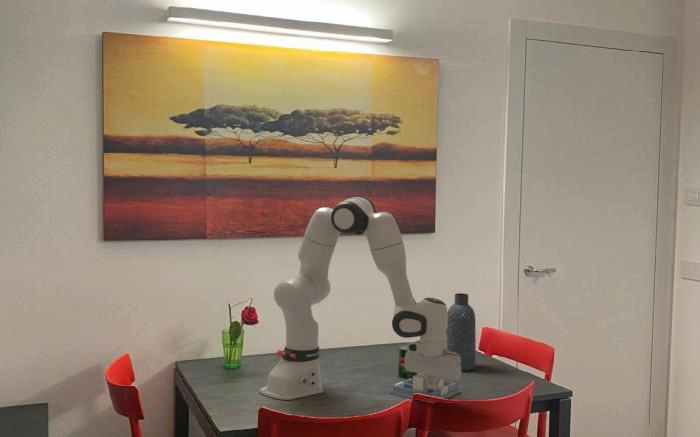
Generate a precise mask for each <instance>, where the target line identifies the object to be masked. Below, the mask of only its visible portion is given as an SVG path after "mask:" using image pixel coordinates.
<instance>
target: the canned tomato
mask: <svg viewBox="0 0 700 437" xmlns="http://www.w3.org/2000/svg"><path fill="white" fill-rule="evenodd" d="M407 351H408V350H407V344H401V345H399V346H398V364H397V365H398V366H397V378H398V379H401V380H404V381H405V380H408V379H410V378H412V379H413V376H415V375H417V373H415V372H411V371H407V370H406V368H405V355H406V352H407Z"/></svg>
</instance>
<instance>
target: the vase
mask: <svg viewBox="0 0 700 437" xmlns="http://www.w3.org/2000/svg"><path fill="white" fill-rule="evenodd" d="M447 314H448V326H447V330H446V336H447V350H448V351H451V352H456V353H457V354H458V355H459V356H460V357H461V372H469V371H473V370H474V369H475V368H476V365H477V364H476V361H477V359H476V349H477V348H476V346H477V345H476V343H477V340H476V314H475V311H474V308H473V307H472V306H471V305H470V304H469V294H468V293H460V292H459V293H455V294H454V303H453V304H452V305H451V306H450V307H449V308H448V309H447ZM458 355H457V356H458Z"/></svg>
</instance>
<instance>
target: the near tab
mask: <svg viewBox="0 0 700 437" xmlns="http://www.w3.org/2000/svg"><path fill="white" fill-rule="evenodd" d="M413 390H415V391H419V392H423V393H427V394H428V390H429V389H428V388H427V383H426V380H425V378H424V375H421V374H418V375H415V376H413Z"/></svg>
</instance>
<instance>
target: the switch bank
mask: <svg viewBox="0 0 700 437" xmlns="http://www.w3.org/2000/svg"><path fill="white" fill-rule="evenodd" d="M458 385H459V384H458V383H456V382H451V381H448V380H447V381H446V380H444V387H443V388H440V389H439V390H432V389H429V390H428V394H427V393H423V392H419V391H415V390H413V379H412V378H410V379H408V380H405V379H404V380H403V381H399V382H398V383H397V382H396V383H394V385H393V386H392V389H390V394H391V395H394V396H399V397H403V398H406V399H410V398H411V396H412V395H413V394H414V393H421V394H425V395H429V396H435V397H442V398H446V399H449V398H451V397H453V396H455V395H458V394H460V393H461V388H458V387H459V386H458Z"/></svg>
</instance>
